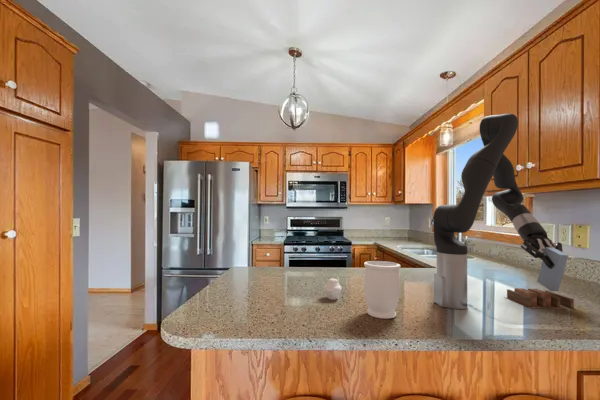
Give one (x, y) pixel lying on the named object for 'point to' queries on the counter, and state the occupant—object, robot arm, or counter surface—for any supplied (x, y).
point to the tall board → (553, 269)
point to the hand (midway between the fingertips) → (556, 267)
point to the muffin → (332, 289)
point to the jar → (382, 288)
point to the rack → (542, 300)
